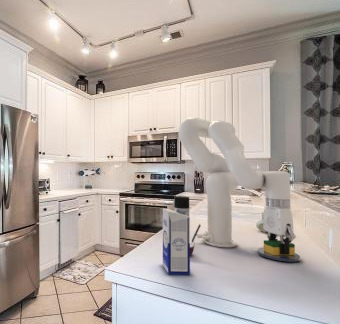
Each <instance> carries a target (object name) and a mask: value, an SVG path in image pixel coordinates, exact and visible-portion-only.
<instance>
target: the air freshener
mask: <svg viewBox="0 0 340 324" xmlns="http://www.w3.org/2000/svg"><path fill="white" fill-rule="evenodd" d="M263 214H264V211H263V212H261V220H258V221H257V222H256V224H255V226H256V228H257V229H258V230H259V231H260V232H263V233H264V234H267V233H266V231H265V230H264V229H263Z"/></svg>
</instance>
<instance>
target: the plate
mask: <svg viewBox="0 0 340 324" xmlns="http://www.w3.org/2000/svg"><path fill="white" fill-rule="evenodd" d="M256 252H257V254H258V255H260V256H261V257H264V258H267V259H270V260H275V261H280V262H292V263H293V262H299V261H301V256H300V255H299V254H297V252H295V255H272V254H270V253H268V252H266V251H264V246H263V247H259V248H257V249H256Z"/></svg>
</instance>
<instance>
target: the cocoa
mask: <svg viewBox="0 0 340 324" xmlns="http://www.w3.org/2000/svg"><path fill="white" fill-rule="evenodd" d="M200 228H201V223H199V224H198V226H197V227H196V230H195V233H194V235H193V236H192V239H190V256H192V255H193V253H194V250H195V239H196V238H197V234H198V232H199V230H200Z"/></svg>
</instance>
